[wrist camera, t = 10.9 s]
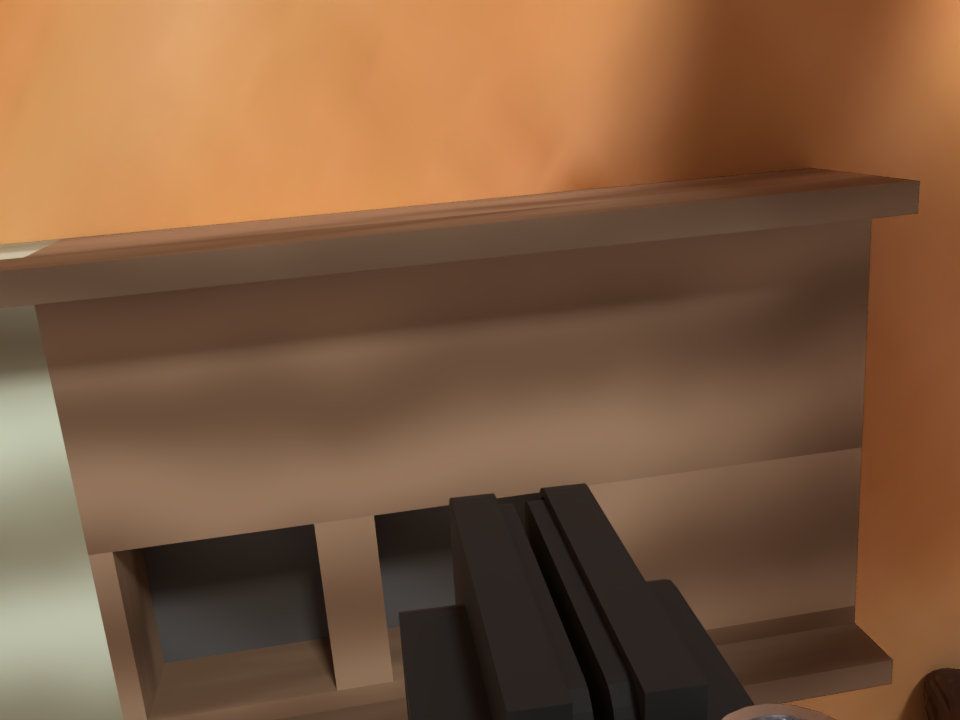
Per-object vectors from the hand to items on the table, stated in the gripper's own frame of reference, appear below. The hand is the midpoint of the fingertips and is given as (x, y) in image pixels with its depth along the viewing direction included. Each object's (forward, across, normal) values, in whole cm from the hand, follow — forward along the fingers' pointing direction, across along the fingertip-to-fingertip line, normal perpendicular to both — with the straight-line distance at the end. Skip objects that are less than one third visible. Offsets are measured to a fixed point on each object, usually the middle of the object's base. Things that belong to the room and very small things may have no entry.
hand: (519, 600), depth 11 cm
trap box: (+22, +2, +7) cm, 24 cm away
